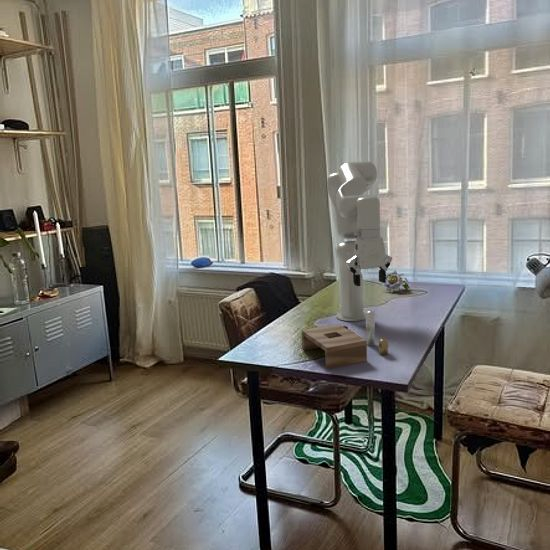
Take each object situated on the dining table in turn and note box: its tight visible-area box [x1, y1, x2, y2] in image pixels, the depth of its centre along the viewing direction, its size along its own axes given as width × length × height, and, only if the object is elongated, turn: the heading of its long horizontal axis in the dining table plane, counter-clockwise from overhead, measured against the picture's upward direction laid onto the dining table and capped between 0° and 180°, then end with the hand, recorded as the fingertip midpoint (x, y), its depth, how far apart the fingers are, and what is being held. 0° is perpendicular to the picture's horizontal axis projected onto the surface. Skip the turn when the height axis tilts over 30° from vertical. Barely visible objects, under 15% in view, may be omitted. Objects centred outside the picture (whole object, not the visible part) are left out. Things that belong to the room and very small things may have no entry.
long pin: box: [365, 309, 376, 347], centre depth 184 cm, size 3×3×12 cm
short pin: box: [378, 337, 389, 356], centre depth 175 cm, size 3×3×5 cm
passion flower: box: [380, 270, 411, 294], centre depth 256 cm, size 11×11×12 cm
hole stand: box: [301, 323, 368, 370], centre depth 177 cm, size 20×14×7 cm
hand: (369, 283), depth 180 cm, fingers open, 9 cm apart
